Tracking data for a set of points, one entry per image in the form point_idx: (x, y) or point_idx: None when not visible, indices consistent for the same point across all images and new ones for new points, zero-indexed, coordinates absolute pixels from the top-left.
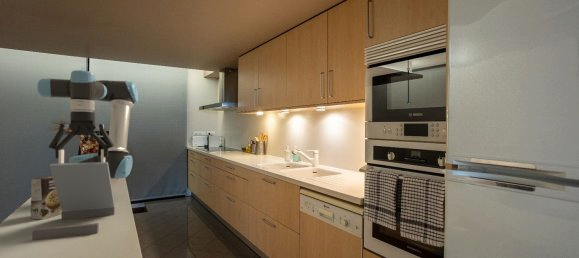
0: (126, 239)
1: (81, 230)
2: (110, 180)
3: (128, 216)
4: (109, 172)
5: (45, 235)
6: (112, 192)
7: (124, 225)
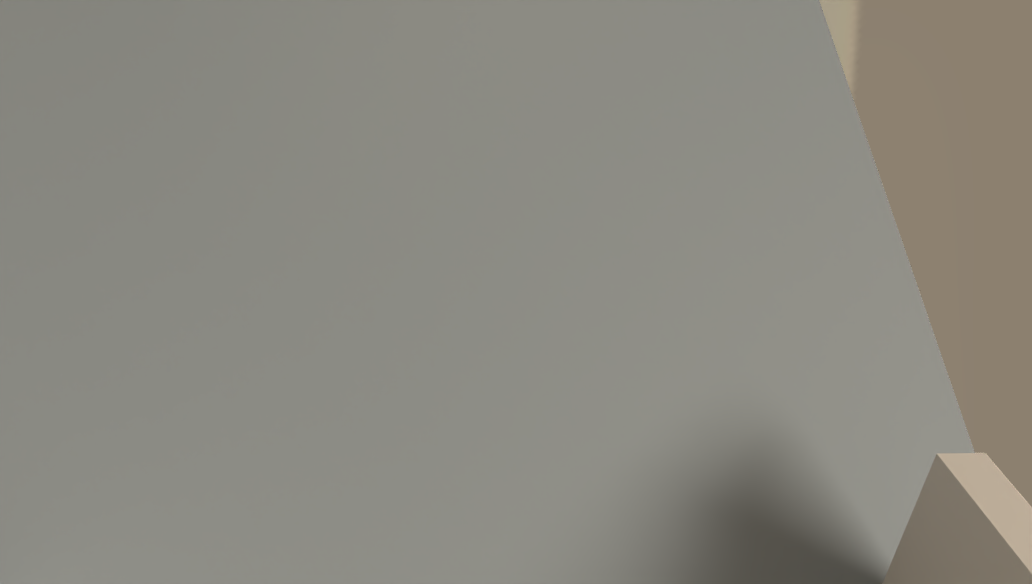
0: None
1: None
2: (890, 248)
3: (851, 19)
4: (958, 415)
5: None
6: (816, 18)
7: None
